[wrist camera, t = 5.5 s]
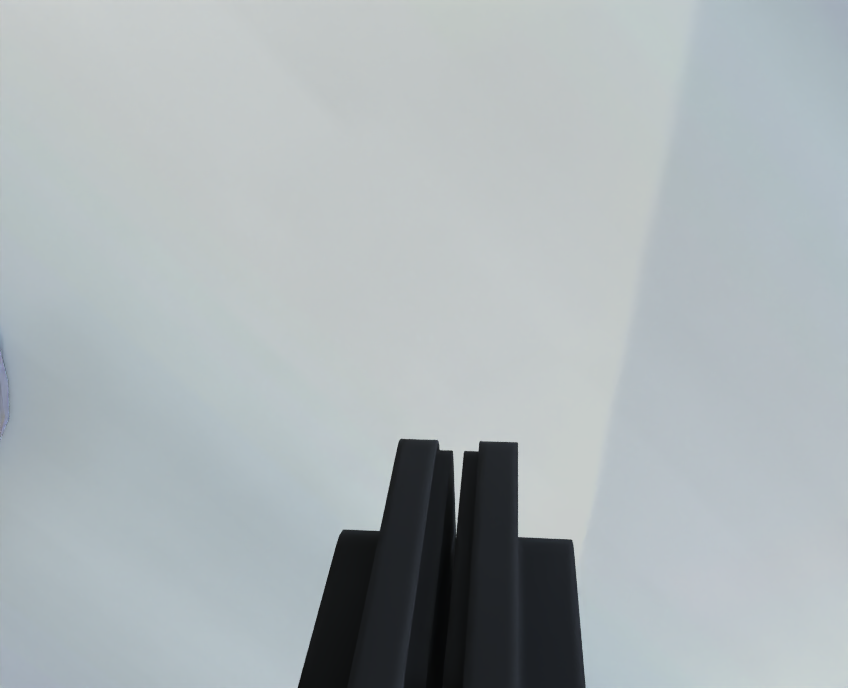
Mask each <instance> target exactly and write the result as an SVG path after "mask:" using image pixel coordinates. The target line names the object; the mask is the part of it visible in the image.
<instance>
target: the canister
mask: <svg viewBox="0 0 848 688" xmlns="http://www.w3.org/2000/svg"><path fill="white" fill-rule="evenodd" d="M8 420H9V393H8V379H7V375H6V371H5V367H4V363H3V358H2V354H1V351H0V440H1V437H2V435H3V432H4V430H5V427H6V425H7V422H8Z"/></svg>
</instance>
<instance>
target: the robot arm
mask: <svg viewBox="0 0 848 688" xmlns="http://www.w3.org/2000/svg"><path fill="white" fill-rule="evenodd" d="M298 688H585V676H584V664H583V652H582V640H581V629H580V617H579V605H578V593H577V581H576V569H575V557H574V548H573V542H572V540H568V539H545V538H522V537H518V443H516V442H483V441H480V443H479V452H474V451H464V458H463V469H462V479H461V490H460V501H459V512H458V523H457V534H456V523H455V493H454V464H453V451H443V450H439V442H438V440H416V439H400V441H399V443H398V447H397V452H396V457H395V462H394V466H393V471H392V476H391V481H390V486H389V490H388V495H387V500H386V505H385V509H384V514H383V519H382V524H381V529H380V531H363V530H343V531H342V532H341V534H340V536H339V539H338V541H337V545H336V548H335V552H334V556H333V559H332V563H331V567H330V570H329V574H328V578H327V582H326V585H325V589H324V593H323V596H322V600H321V604H320V607H319V611H318V615H317V619H316V622H315V626H314V630H313V633H312V637H311V641H310V644H309V648H308V652H307V656H306V659H305V663H304V667H303V670H302V674H301V678H300V682H299V685H298Z"/></svg>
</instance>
